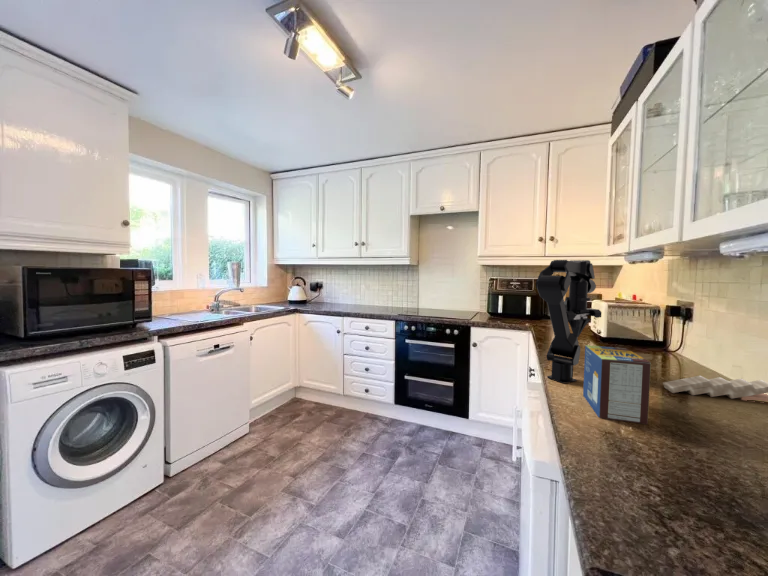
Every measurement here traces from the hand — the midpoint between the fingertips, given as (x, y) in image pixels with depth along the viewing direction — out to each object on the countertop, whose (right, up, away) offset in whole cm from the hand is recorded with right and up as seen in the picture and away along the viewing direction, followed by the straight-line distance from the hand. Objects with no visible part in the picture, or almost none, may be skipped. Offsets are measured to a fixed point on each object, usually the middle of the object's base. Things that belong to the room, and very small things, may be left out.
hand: (576, 337), depth 115 cm
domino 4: (+32, -14, -21) cm, 41 cm away
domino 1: (+19, -14, -16) cm, 28 cm away
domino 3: (+28, -14, -19) cm, 36 cm away
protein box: (-9, -15, -30) cm, 35 cm away
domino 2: (+23, -14, -18) cm, 32 cm away
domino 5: (+35, -14, -21) cm, 43 cm away
